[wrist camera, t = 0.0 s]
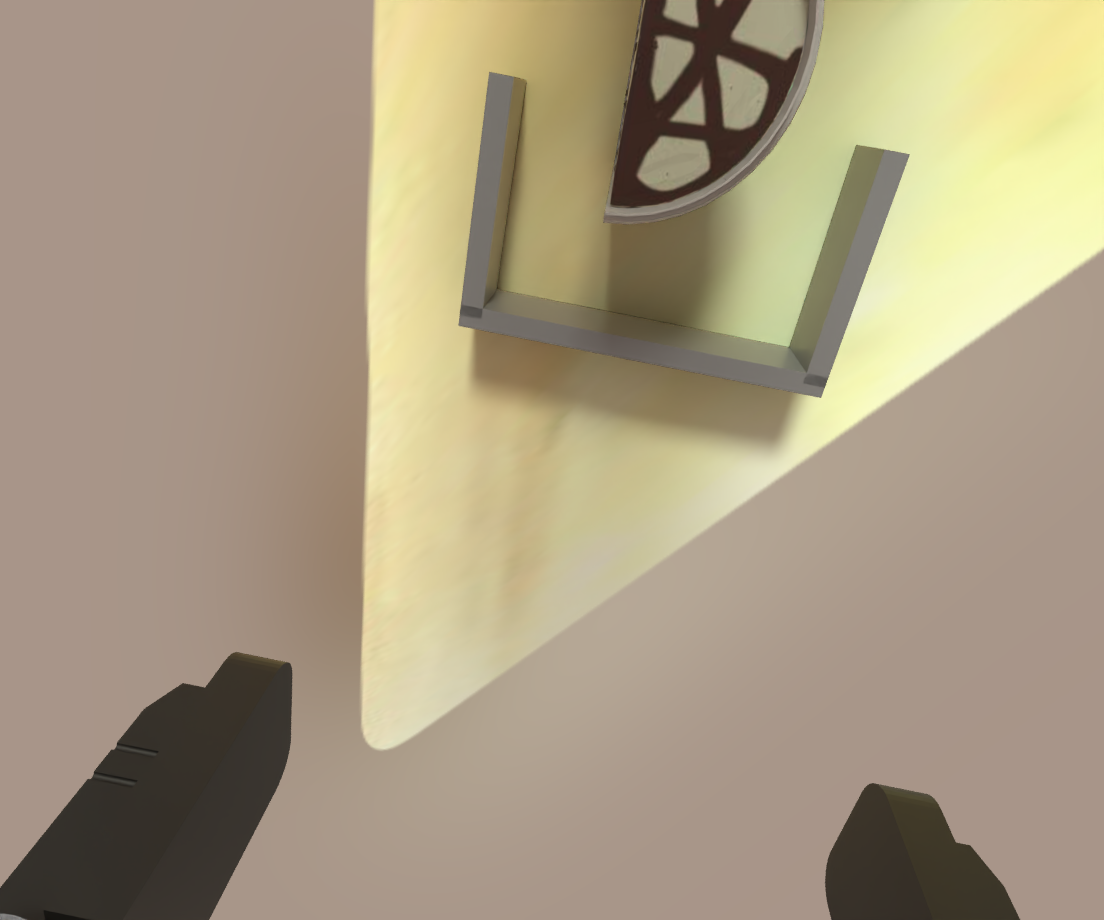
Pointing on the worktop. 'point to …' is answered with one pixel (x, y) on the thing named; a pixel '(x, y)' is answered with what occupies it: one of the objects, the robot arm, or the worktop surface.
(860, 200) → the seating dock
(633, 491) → the worktop surface
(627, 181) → the food container
